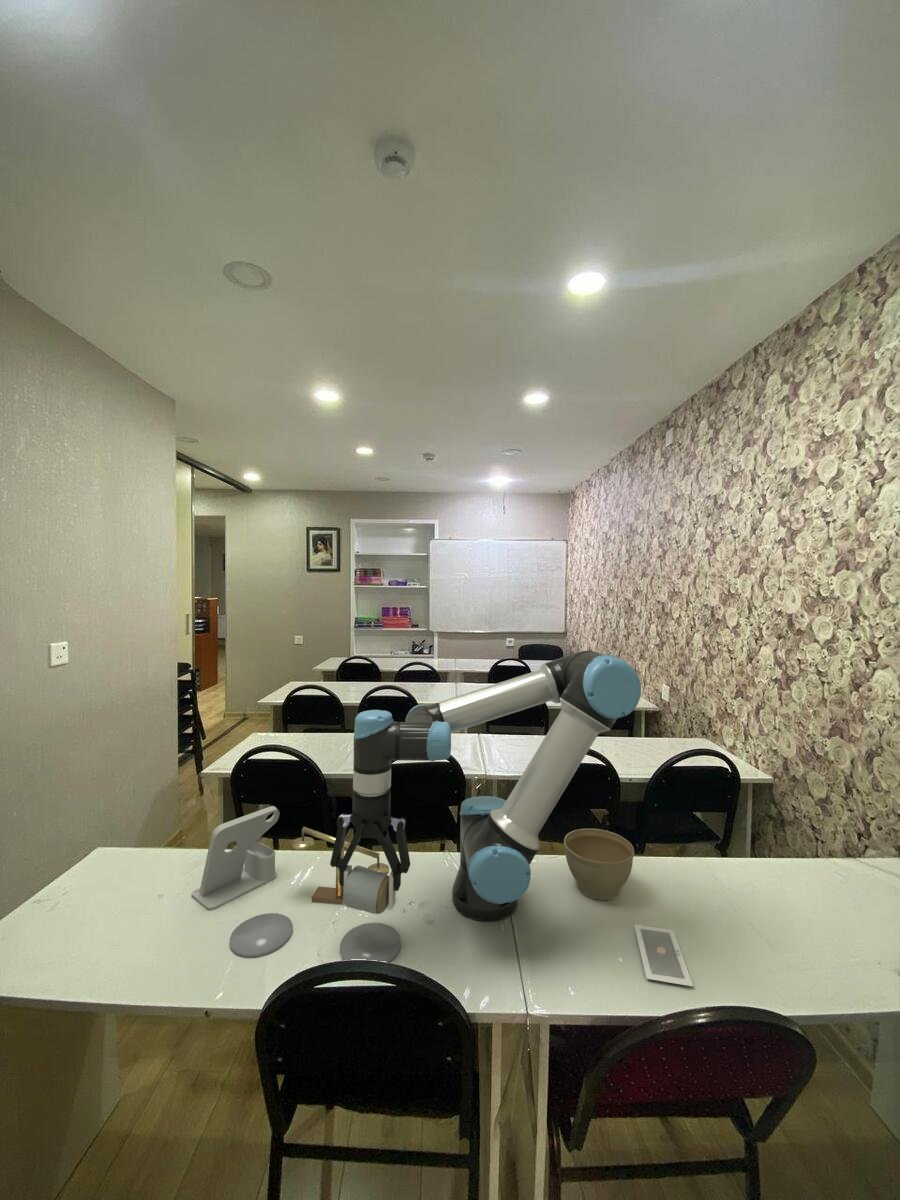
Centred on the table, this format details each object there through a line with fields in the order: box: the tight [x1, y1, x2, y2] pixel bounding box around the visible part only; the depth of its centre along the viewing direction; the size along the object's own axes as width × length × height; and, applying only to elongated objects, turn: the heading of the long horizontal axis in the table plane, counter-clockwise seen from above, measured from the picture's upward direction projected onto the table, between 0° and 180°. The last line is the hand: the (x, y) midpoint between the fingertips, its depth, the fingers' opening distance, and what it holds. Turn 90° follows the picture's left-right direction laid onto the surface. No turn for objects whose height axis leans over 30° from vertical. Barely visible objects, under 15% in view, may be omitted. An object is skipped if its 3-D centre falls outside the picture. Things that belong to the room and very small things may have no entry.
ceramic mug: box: [344, 865, 389, 915], centre depth 96 cm, size 10×8×7 cm
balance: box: [291, 826, 390, 906], centre depth 110 cm, size 23×5×16 cm, turn 83°
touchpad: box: [633, 924, 694, 987], centre depth 92 cm, size 8×15×2 cm, turn 167°
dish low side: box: [339, 922, 402, 963], centre depth 94 cm, size 12×12×1 cm
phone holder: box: [191, 805, 280, 912], centre depth 114 cm, size 17×10×18 cm, turn 142°
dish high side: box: [229, 912, 294, 959], centre depth 97 cm, size 12×12×1 cm
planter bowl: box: [563, 828, 635, 901], centre depth 114 cm, size 16×16×11 cm
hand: (369, 903), depth 94 cm, fingers closed on ceramic mug, 8 cm apart
